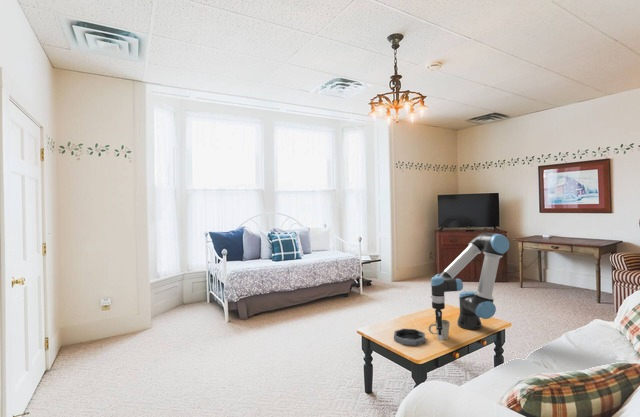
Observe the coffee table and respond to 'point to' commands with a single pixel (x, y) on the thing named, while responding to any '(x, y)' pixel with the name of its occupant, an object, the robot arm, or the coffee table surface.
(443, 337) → the mug
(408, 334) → the gray octagonal container
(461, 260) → the robot arm
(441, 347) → the coffee table surface
